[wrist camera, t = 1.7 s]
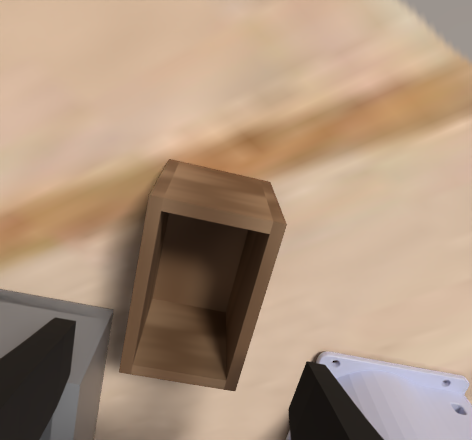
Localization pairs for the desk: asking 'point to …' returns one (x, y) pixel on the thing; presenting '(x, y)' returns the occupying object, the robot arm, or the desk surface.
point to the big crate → (83, 358)
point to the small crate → (201, 275)
